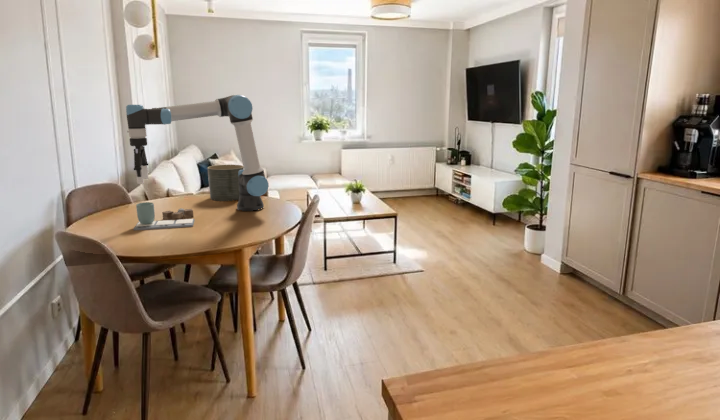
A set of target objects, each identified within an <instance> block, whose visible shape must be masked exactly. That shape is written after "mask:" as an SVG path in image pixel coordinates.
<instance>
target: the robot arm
mask: <svg viewBox="0 0 720 420" xmlns="http://www.w3.org/2000/svg"><path fill="white" fill-rule="evenodd" d="M252 112H253V103H252V101H251V100H250V99H249V98H248V97H247V96H245V95H242V94H235V95H234V94H233V95H232V94H231V95H229V96H226V97H221V98H216V99H215V100H213V101H205V102H195V103H187V104H179V105H171V106H162V107H152V108H144V105H143V104H127V105H126V106H125V113H126V114H125V115H126V121H127V128H128V130H127V133H128V136H129V145H130V147H134V149H133V160H134V161H133V162H134V163H133V165H134V166H133V171H135V176H136V177H135V178H136V184H138V185H139V184H144V180H148V179H149V173H148V166H149V163H148V161H147V154H146V150H145V146H148V139H147V136H148V135H147V128H146V126H147V125H148V126H149V125H171V124H172V122H176V121H185V120H191V119H199V118H200V119H201V118H207V117H215V116H216V117H217V116H218V117H219V118H223V117H229V122H230V124H231V125H232V126H234V130H235V136H236V140H237V144H238V148H239V154H240V157H241V163H242V166H243V167H244V170H239V172H238V178H239V195H240V196H239V200H237V204H236V209H237V210H238V211H240V210H242V211H241V212H254V211H253V210H257V211H259V210H258V209H261V208H263V207H265V205H264V202H263V200H262V197H261V196H263V195H265V194H266V193H267V192H268V189H269V187H270V186H269V181H268V178H267V177H266V175H265V172H264V168H262V167H261V165H260V161H259V155H258V150H257V146H256V142H255V137H254V132H253V129H252V122H253V120H254V119H253V114H252ZM263 209H264V208H263ZM261 210H262V209H261Z"/></svg>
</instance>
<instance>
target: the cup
mask: <svg viewBox="0 0 720 420" xmlns="http://www.w3.org/2000/svg"><path fill="white" fill-rule="evenodd" d="M135 206H136V207H135V209H136V216H137V220H138V222H140V223H141V224H151V223H152V222H153V221H155V219H156V218H155V214H156V213H155V203H154V202H149V201H147V202H139V203H137V204H136V205H135Z"/></svg>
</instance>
